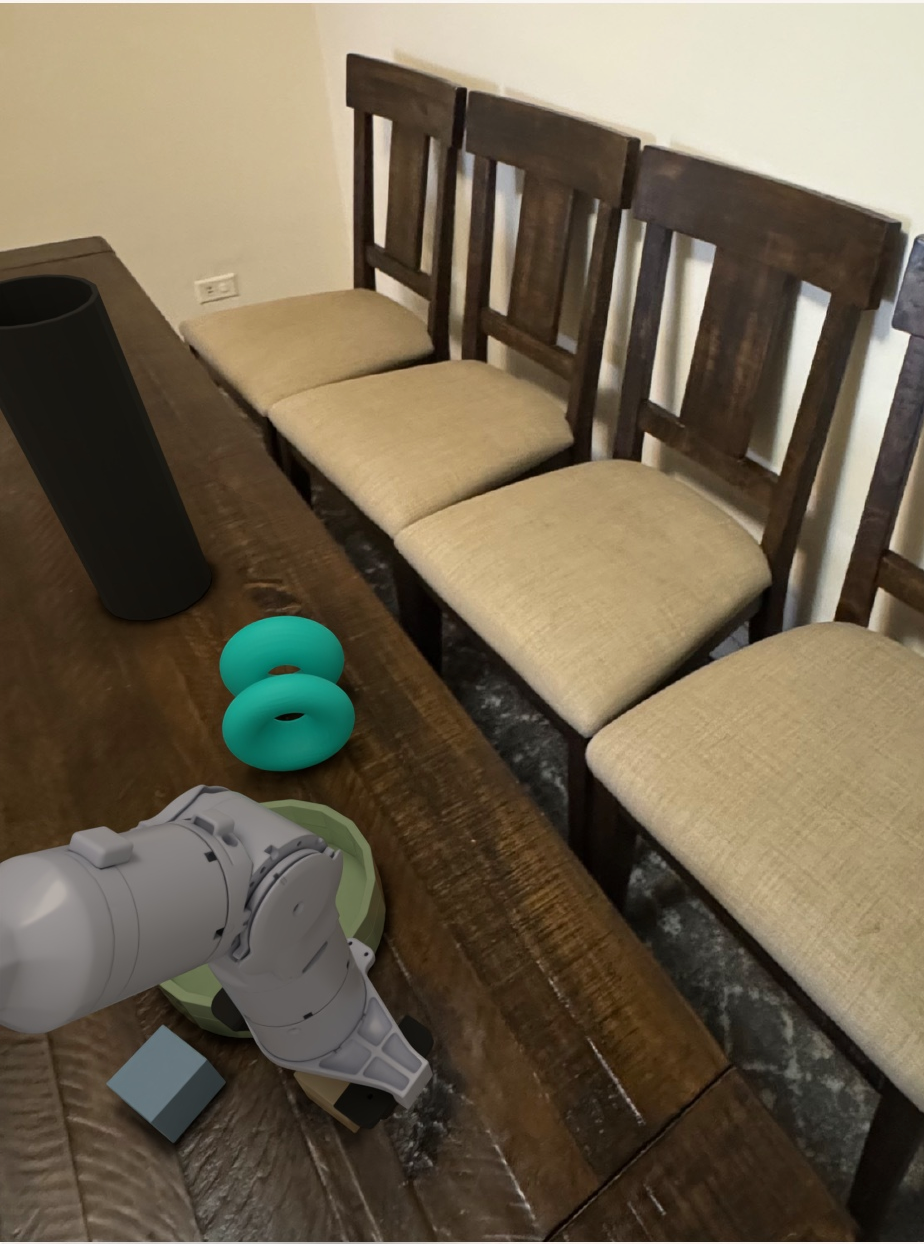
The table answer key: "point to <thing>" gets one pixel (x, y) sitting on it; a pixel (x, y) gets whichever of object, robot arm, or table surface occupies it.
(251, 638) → the donuts
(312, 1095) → the brown block
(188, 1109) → the blue block
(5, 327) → the vase
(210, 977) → the green shallow bowl
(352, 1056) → the robot arm
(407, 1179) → the table surface
